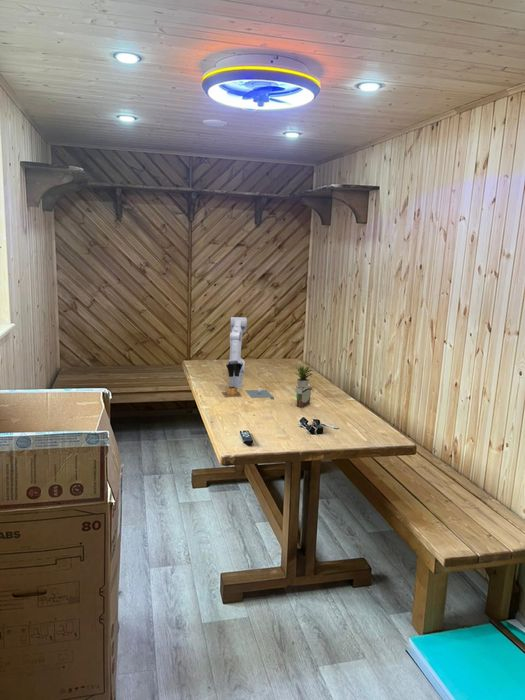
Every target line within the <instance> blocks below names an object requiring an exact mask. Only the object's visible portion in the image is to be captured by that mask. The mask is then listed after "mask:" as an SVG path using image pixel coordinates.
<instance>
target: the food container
mask: <svg viewBox="0 0 525 700" xmlns="http://www.w3.org/2000/svg"><path fill="white" fill-rule="evenodd" d="M294 390H295V391H294V392H295V394H296V407H297V408H300V409H304V408H306V407H308V406H310V404H311V393H312V386H309V385H308V386H299V387H298V386H297V387H296V388H295V389H294Z"/></svg>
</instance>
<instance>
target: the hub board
mask: <svg viewBox="0 0 525 700" xmlns="http://www.w3.org/2000/svg"><path fill="white" fill-rule="evenodd" d="M244 391H245V392H246V393H247V395H248V396H249V397H250V398H251V399H267V398H269V399H270V400H272V399H273V400H274V399H275V396H273V395H272V394H271V393H270V392H269V391H268V390H267V389H262V388H261V387H257V389H247V390H246V389H245V390H244Z"/></svg>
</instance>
